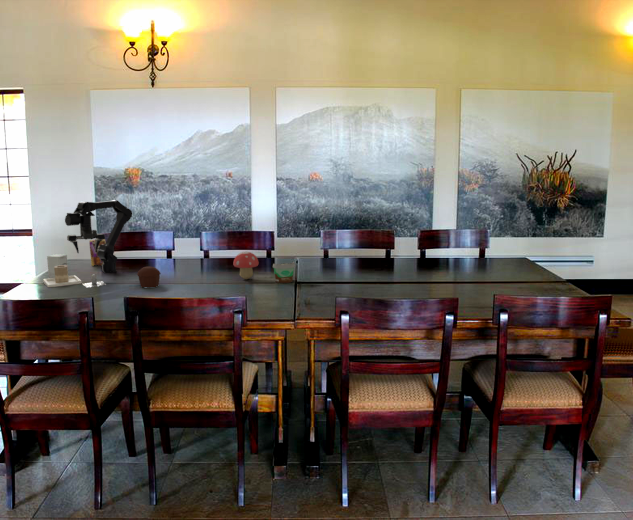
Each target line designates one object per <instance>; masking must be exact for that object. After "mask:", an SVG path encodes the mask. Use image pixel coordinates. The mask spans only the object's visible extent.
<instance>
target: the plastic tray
mask: <svg viewBox="0 0 633 520" xmlns="http://www.w3.org/2000/svg"><path fill="white" fill-rule="evenodd" d="M68 279H69V282H64V283H56V281H55V278H49V277H48V278H43V279H42V282H44V283H43V284H44V286H46V287H47V288H56V287H63V286H64V287H65V286H72V285H81V284H83V282H82V280H81V279H80V278H79V277H78V276H77V275H75V274H74V275H68Z"/></svg>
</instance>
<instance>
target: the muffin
mask: <svg viewBox="0 0 633 520" xmlns="http://www.w3.org/2000/svg"><path fill="white" fill-rule="evenodd" d="M136 275H137V277H138V280H139V284H140V288H141V287H155V288H157V287H159V286H160V276H161V271H160V270H159V269H158V268H156V267H155V266H144V267H141V268H140V269H139V270H138V271H137V273H136ZM158 285H159V286H158ZM156 286H157V287H156Z"/></svg>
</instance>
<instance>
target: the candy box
mask: <svg viewBox="0 0 633 520" xmlns="http://www.w3.org/2000/svg"><path fill="white" fill-rule="evenodd" d="M102 240H103V241H101V242H100V243H99V245H98V249H99V247H100V245H104V244H105V243H106V239H102ZM98 249H97V250H98ZM89 251H90V263H91V264H90V265H91V267H95V266H94V265H98V266H102V264H103V261H101V259H100V258H99V257H98V251H97V252H95V239H89Z"/></svg>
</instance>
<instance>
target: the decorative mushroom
mask: <svg viewBox="0 0 633 520" xmlns="http://www.w3.org/2000/svg"><path fill="white" fill-rule="evenodd" d="M259 263H260V262H259V259H258V257H257V256H256V255H255V254H254V253H253V252H251V251H242V252H240V253H238V254H237V255H236V256H235V257H234V259H233V266H234V268H239V276H240V278H242V279H244V280H249V279H251V278H252V276H253V275H254V271H253V268H257V267H258V265H259Z"/></svg>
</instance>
